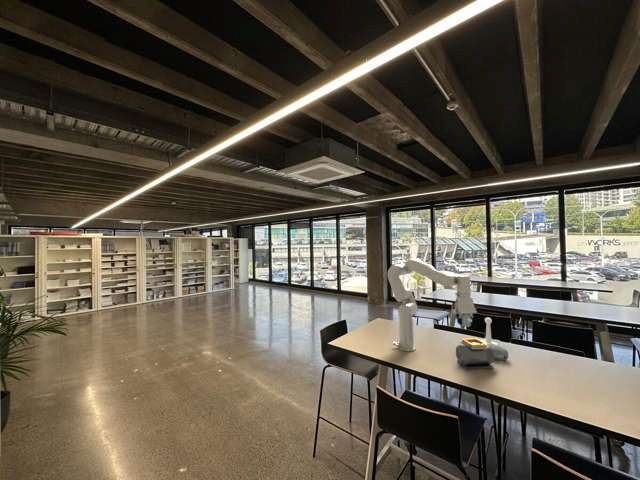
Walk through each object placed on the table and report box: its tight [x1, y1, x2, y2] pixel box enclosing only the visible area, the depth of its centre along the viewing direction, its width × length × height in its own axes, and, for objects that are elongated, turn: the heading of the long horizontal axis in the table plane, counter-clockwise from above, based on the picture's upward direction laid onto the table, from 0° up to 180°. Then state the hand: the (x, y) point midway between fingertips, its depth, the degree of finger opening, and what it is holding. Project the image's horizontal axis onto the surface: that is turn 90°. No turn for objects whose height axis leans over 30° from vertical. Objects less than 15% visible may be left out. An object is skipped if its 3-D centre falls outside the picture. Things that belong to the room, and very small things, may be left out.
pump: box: [459, 314, 473, 328], centre depth 162 cm, size 6×9×7 cm
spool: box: [488, 345, 509, 361], centre depth 170 cm, size 14×10×10 cm
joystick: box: [479, 317, 499, 346], centre depth 192 cm, size 11×8×20 cm
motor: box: [455, 337, 495, 371], centre depth 160 cm, size 19×11×14 cm, turn 95°
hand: (464, 323), depth 164 cm, fingers closed on pump, 6 cm apart
